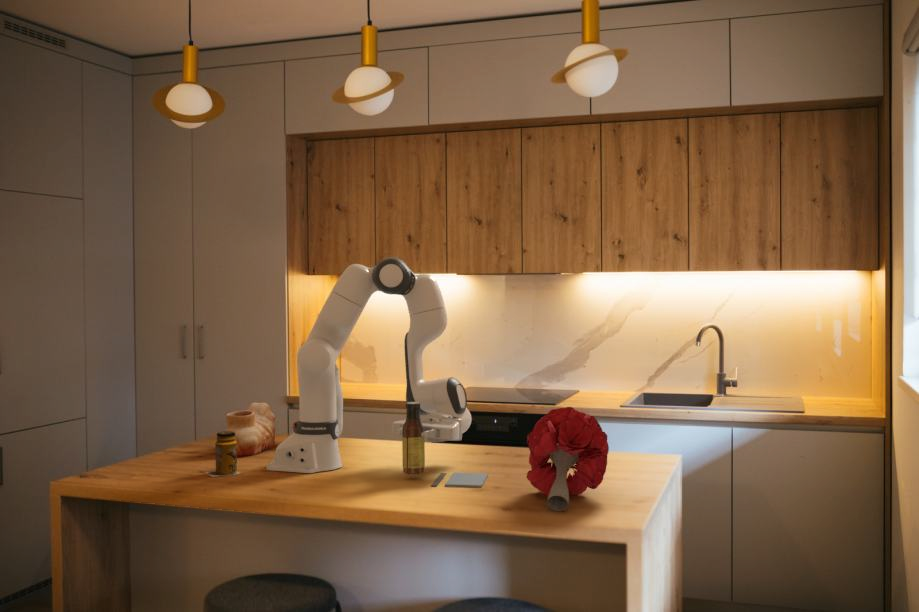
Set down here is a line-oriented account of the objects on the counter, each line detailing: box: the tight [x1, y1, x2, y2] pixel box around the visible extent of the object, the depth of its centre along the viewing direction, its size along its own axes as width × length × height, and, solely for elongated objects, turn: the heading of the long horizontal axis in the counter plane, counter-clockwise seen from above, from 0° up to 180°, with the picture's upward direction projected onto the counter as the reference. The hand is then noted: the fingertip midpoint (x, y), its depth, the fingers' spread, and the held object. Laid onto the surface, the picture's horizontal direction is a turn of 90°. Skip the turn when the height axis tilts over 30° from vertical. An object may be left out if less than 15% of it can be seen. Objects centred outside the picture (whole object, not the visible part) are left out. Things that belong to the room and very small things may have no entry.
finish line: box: [430, 472, 447, 487], centre depth 245 cm, size 2×16×1 cm, turn 171°
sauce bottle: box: [401, 402, 426, 475], centre depth 246 cm, size 7×6×20 cm
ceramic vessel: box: [226, 402, 277, 458], centre depth 291 cm, size 14×26×15 cm, turn 167°
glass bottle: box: [335, 363, 344, 439], centre depth 306 cm, size 10×10×28 cm
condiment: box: [204, 430, 242, 478], centre depth 255 cm, size 7×8×12 cm
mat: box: [444, 472, 489, 488], centre depth 244 cm, size 10×15×1 cm, turn 171°
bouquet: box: [526, 406, 610, 512], centre depth 222 cm, size 22×24×30 cm
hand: (411, 433), depth 245 cm, fingers closed on sauce bottle, 6 cm apart
